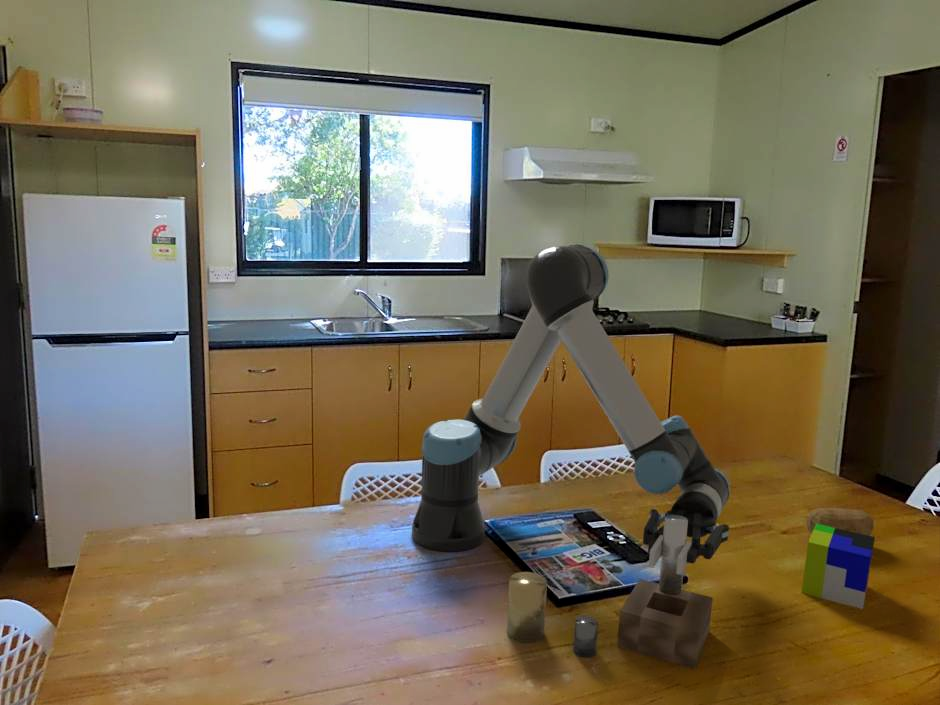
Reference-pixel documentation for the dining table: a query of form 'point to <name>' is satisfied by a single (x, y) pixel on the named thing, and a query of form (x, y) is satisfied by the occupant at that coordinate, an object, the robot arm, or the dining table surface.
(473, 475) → the robot arm
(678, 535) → the steel roller
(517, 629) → the fat brass roller
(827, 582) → the puzzle toy
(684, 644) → the walnut block
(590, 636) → the short dark roller
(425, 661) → the dining table surface
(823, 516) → the potato
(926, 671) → the dining table surface
